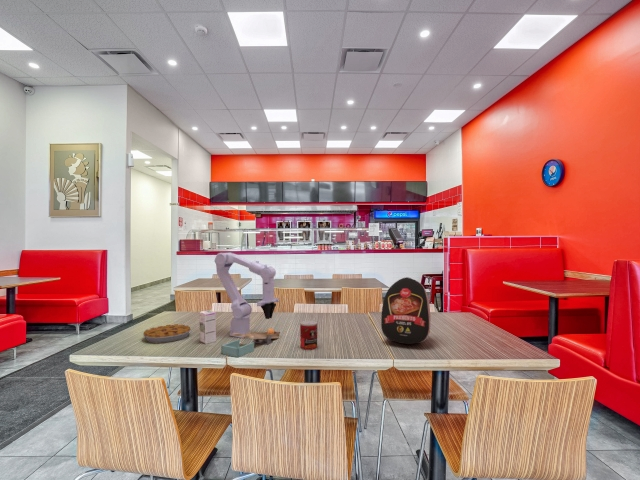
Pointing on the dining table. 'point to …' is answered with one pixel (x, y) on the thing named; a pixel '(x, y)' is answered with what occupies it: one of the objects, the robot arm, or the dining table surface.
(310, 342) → the canned food
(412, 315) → the packaged food
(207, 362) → the dining table surface
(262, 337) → the lever
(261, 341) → the fulcrum
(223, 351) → the teal u-shaped frame
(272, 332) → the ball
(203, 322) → the syrup box
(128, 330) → the dining table surface
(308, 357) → the dining table surface
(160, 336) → the pie
